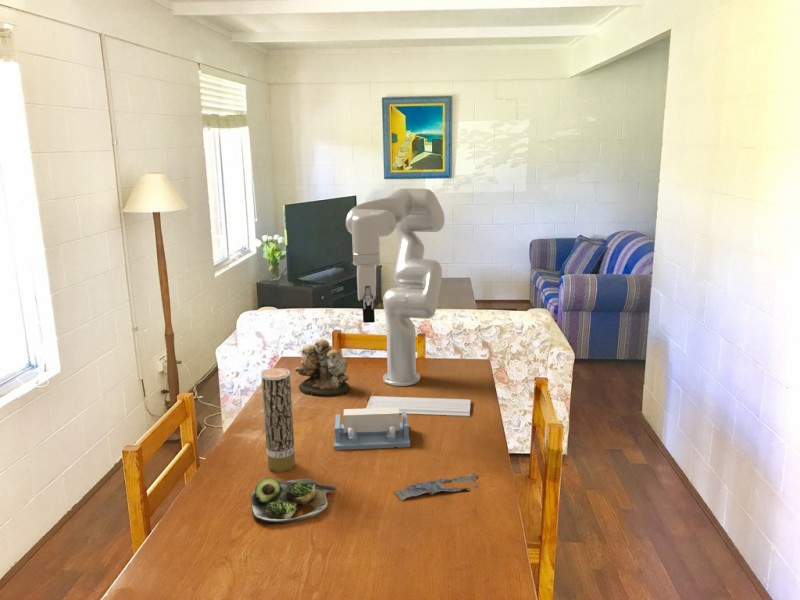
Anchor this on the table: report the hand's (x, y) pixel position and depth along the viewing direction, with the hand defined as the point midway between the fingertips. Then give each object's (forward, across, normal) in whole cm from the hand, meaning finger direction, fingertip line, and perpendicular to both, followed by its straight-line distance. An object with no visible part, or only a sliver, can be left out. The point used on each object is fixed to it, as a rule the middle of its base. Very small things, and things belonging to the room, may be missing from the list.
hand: (368, 317), depth 188 cm
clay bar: (+27, +16, 0) cm, 31 cm away
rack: (+30, +16, 0) cm, 34 cm away
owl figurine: (+30, -20, -15) cm, 39 cm away
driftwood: (+30, +44, +14) cm, 55 cm away
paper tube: (+29, +30, -24) cm, 48 cm away
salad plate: (+29, +47, -21) cm, 59 cm away
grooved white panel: (+31, -2, +14) cm, 34 cm away
